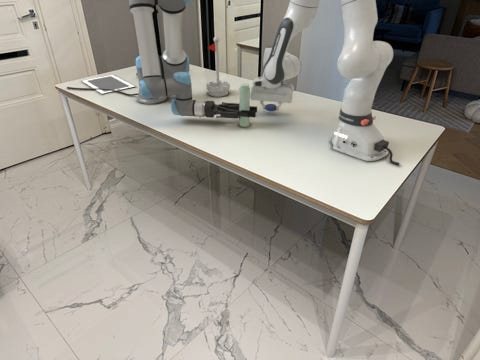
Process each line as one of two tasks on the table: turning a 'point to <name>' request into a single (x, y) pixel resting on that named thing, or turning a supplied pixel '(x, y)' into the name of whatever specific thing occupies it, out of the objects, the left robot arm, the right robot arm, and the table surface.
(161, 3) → the left robot arm
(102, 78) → the tablet
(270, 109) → the lid
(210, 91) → the flag stand
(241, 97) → the pale green cylinder
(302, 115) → the table surface
